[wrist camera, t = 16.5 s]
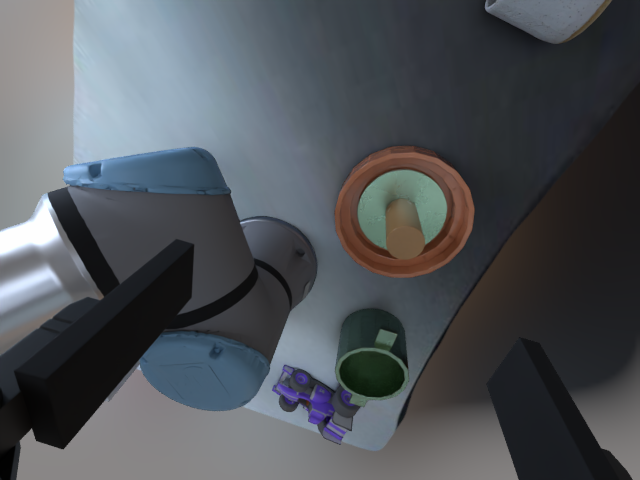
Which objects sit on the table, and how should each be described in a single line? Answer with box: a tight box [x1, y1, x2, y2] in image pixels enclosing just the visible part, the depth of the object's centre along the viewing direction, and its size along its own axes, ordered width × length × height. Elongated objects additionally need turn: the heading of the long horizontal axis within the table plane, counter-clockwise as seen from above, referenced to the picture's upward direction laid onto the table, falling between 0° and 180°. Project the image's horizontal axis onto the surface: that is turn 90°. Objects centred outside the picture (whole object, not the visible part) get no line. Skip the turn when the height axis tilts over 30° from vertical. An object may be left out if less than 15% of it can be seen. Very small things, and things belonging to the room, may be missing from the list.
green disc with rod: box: [357, 169, 447, 260], centre depth 39 cm, size 11×11×10 cm
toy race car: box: [272, 365, 360, 445], centre depth 60 cm, size 10×15×6 cm, turn 68°
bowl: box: [335, 146, 475, 278], centre depth 42 cm, size 16×16×4 cm
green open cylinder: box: [335, 309, 409, 407], centre depth 50 cm, size 10×16×8 cm, turn 167°
